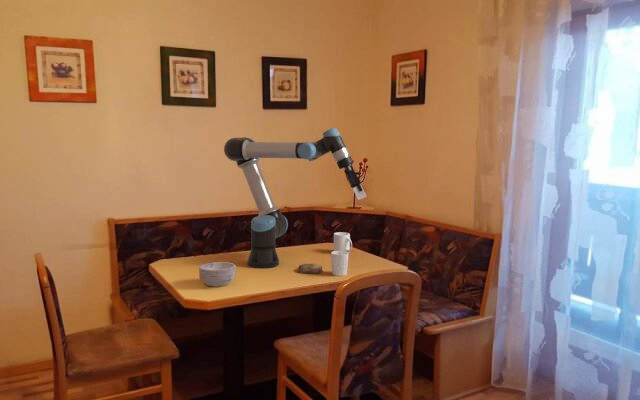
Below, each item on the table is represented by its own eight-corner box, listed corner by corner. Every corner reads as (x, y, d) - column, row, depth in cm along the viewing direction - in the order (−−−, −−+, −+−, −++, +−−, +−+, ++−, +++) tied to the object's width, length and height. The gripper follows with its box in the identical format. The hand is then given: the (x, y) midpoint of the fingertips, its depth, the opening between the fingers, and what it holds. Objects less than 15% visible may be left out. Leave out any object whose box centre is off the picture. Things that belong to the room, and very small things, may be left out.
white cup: (328, 272, 238) (328, 251, 237) (343, 271, 241) (343, 250, 240) (335, 277, 231) (335, 255, 230) (351, 275, 234) (351, 253, 233)
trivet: (301, 274, 235) (301, 269, 234) (296, 268, 245) (296, 263, 245) (324, 273, 237) (324, 268, 237) (319, 267, 248) (319, 262, 248)
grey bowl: (206, 278, 227) (205, 260, 226) (239, 279, 226) (239, 261, 225) (194, 288, 212) (193, 269, 211) (230, 289, 211) (230, 270, 210)
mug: (345, 257, 270) (346, 236, 268) (330, 252, 279) (330, 233, 277) (357, 254, 275) (357, 234, 274) (341, 250, 284) (342, 231, 283)
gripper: (352, 151, 236) (373, 193, 236) (347, 158, 261) (366, 196, 260) (338, 158, 236) (358, 200, 235) (334, 164, 260) (352, 202, 260)
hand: (362, 198), depth 248 cm, fingers open, 13 cm apart
